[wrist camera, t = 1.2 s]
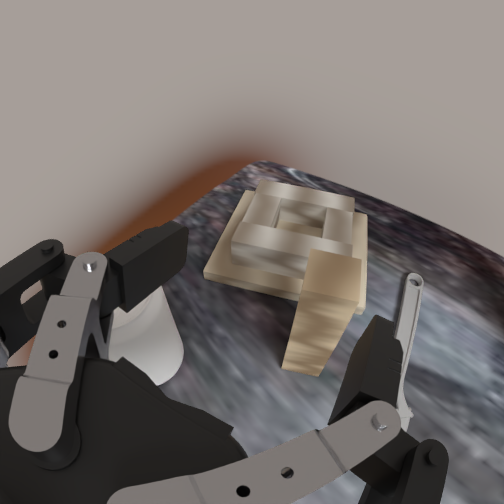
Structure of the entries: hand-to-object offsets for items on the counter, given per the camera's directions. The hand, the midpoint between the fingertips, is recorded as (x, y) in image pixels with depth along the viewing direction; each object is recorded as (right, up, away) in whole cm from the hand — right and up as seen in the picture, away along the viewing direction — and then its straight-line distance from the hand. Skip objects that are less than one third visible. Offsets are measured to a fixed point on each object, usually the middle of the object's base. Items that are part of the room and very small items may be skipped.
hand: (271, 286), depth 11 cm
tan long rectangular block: (+5, -10, +19) cm, 22 cm away
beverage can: (-12, -10, +19) cm, 25 cm away
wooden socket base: (+5, +2, +31) cm, 31 cm away
